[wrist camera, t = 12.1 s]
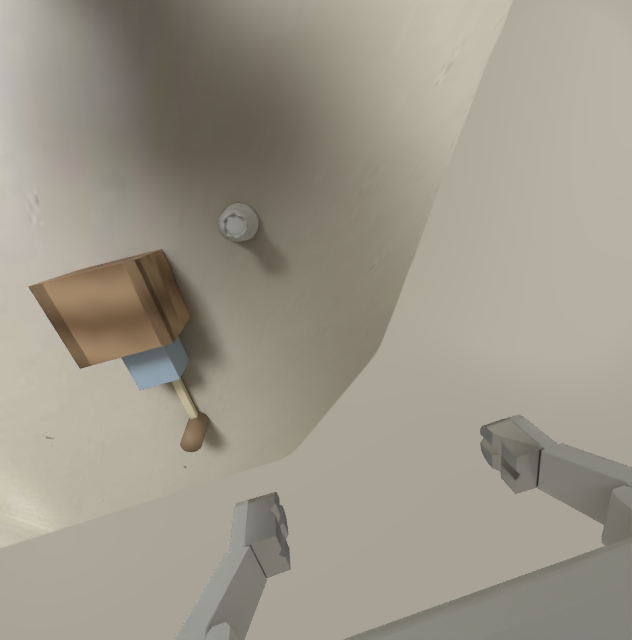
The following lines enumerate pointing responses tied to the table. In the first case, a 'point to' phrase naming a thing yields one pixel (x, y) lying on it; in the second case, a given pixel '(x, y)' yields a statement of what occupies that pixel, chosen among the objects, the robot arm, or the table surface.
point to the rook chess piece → (238, 222)
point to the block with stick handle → (163, 369)
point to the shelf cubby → (114, 308)
